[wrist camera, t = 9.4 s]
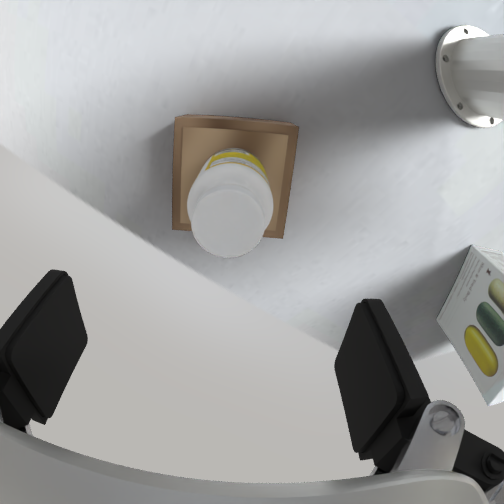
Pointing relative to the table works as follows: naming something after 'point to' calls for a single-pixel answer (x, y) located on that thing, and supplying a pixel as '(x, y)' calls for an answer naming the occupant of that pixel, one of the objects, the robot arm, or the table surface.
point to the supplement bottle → (230, 203)
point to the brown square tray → (233, 136)
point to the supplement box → (479, 320)
